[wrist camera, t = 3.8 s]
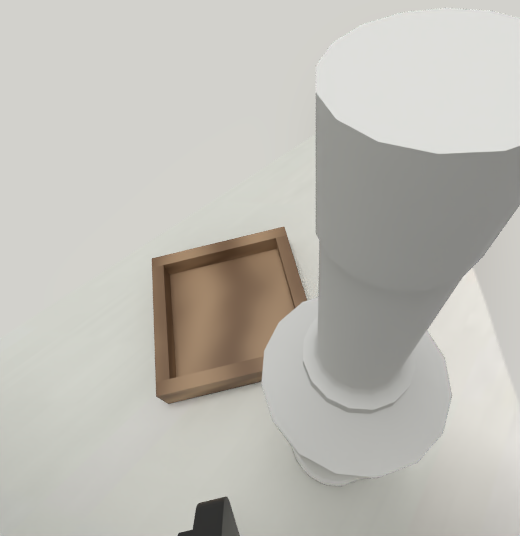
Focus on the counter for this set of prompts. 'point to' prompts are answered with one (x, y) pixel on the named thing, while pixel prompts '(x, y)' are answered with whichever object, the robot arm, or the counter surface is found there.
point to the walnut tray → (220, 312)
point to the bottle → (395, 233)
